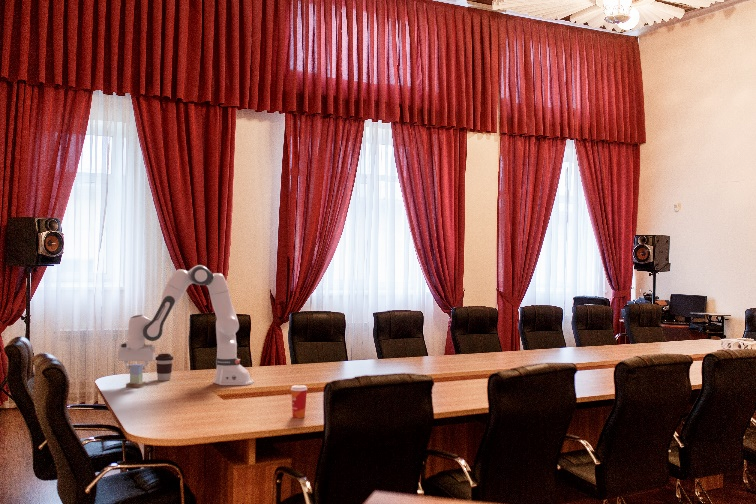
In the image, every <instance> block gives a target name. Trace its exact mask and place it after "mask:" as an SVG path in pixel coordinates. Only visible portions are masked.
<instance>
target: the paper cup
mask: <svg viewBox="0 0 756 504" xmlns="http://www.w3.org/2000/svg"><path fill="white" fill-rule="evenodd" d="M290 391H291V411H292V413H291V415H292V418H294V419H303V418H305V416H306V405H307V393H308V392H307V391H308V387H307V386H306V385H304V384H303V385H301V384H296V385H295V384H294V385H292V386H291V388H290Z"/></svg>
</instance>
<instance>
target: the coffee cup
mask: <svg viewBox="0 0 756 504" xmlns="http://www.w3.org/2000/svg"><path fill="white" fill-rule="evenodd" d="M173 360H174V356H172V354H171V353H159V354H158V355H157V356H155V361H156V362H155V363H156V366H155V367H156V374H157V381H161V382H164V381H165V382H166V381H170V380H171V377H172V370H173Z"/></svg>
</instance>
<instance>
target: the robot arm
mask: <svg viewBox="0 0 756 504" xmlns="http://www.w3.org/2000/svg"><path fill="white" fill-rule="evenodd" d="M192 284H195V285H197V286H198V285H199V286H206V287H207V289H208V293H209V297H210V301H211V306H212V308H213V311H214V313H215V317H216V321H215V334H216V344H217V345H216V351H217V352H216V358H215V368H216V372H215V377H214V381H213V384H217V385H220V386H246V385H247V386H248V385H251V384H253V383H254V382H255V381H254V379H253V378H251V377H250V372H249V370H248V369H247V368H246V367H244V366H243V365H242V364H241V358H238V357H237V355H238V354H237V352H238V349H237V347H238V343H237V335H236V333H237V332H238V331H239V329H240V323H239V320H238V316H237V314H236V309H235V307H234V304H233V301H232V297H231V294H230V290H229V289H230V288H229V286H228V283H227V281H226V279H225V276H224V275H223V273H220V272H219V273H218V272H215V273H212V271H210V269H208V268H207V267H206V266H205V265H202V264H198V265H195V266H192V267H191V268H190V269H188V270H186V269H181V268H179V269H177V270H175V271H174V273H173V274H172V275H171V277H170V278H169V280H168V281H167V282H166V285H165V287H164V289H163V291H162V295H161V301H160V304H159V307H158V309H157V311H156V313H155V314H154V317H153V318H152V319H151V318H148V317H147V316H145V315H144V314H137V315H133V316H131V317H130V318H129V322H128V331H127V332H128V341H127V340H126V341H125V342H122V343H120V344H119V349H118V351H117V360H118V361H120V362H121V361H122V362H123V363H124V366H125V367H126V370H130V365H131V364H130V365H129V364H128V363H129V362H144V365H143V370H147V369H148V368H147V366H148V365H149V363H150V362H154V361H156V353H155V351H156V347H155V345H153V344H146V340H147V341H149V342H154V341H155V342H156V341H157V340H159V339H161V337H162V335H163V327H164V324H165V322H166V319H167V318H168V316H169V314H170V313H171V311H172V310H173V309H174V307H176V305H177V304H178V303H179V302H180V301H181V300H182V298H183V296H184V295H185V293H186V291H187V290H188V287H189V286H190V285H192Z"/></svg>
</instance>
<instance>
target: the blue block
mask: <svg viewBox="0 0 756 504" xmlns="http://www.w3.org/2000/svg"><path fill="white" fill-rule="evenodd" d="M143 366H144V364H142V363H133V364H130V369H129V375H130V374H133V375H139V374H142V373H143V371H144V369H143Z"/></svg>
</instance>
